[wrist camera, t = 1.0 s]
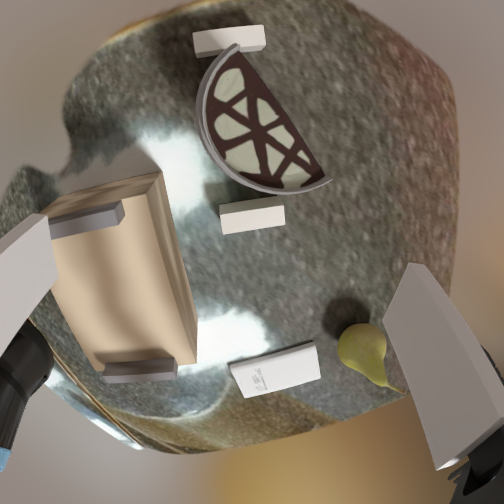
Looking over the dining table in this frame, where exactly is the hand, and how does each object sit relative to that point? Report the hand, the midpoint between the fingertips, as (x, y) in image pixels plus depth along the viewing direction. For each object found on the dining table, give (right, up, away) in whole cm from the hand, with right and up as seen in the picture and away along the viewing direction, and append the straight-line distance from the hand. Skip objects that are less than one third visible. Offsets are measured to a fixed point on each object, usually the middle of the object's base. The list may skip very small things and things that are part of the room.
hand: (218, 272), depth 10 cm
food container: (0, +13, +18) cm, 22 cm away
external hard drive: (+5, -17, +34) cm, 38 cm away
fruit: (+16, -11, +32) cm, 37 cm away
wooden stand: (-13, 0, +22) cm, 26 cm away
